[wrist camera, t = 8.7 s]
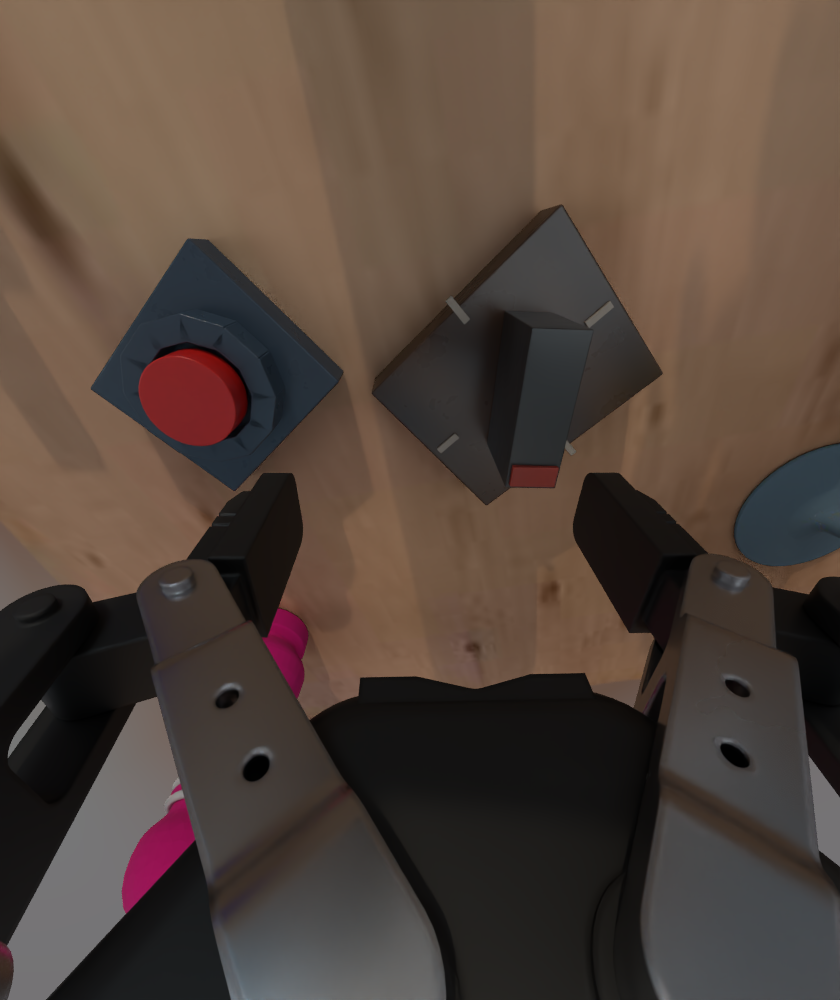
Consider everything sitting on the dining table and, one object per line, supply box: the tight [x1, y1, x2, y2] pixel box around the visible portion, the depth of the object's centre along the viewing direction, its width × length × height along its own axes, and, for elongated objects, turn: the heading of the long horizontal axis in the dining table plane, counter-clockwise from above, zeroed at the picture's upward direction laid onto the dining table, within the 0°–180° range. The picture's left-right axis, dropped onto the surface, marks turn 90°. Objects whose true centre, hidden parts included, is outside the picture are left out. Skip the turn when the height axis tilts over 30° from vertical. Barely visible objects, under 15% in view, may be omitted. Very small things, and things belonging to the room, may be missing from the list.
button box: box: [91, 239, 343, 491], centre depth 22 cm, size 10×9×4 cm
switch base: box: [372, 204, 663, 505], centre depth 23 cm, size 12×11×3 cm
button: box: [139, 348, 248, 446], centre depth 20 cm, size 4×4×2 cm
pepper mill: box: [122, 608, 308, 913], centre depth 27 cm, size 7×7×20 cm
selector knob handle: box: [487, 311, 594, 488], centre depth 19 cm, size 7×2×5 cm, turn 178°
